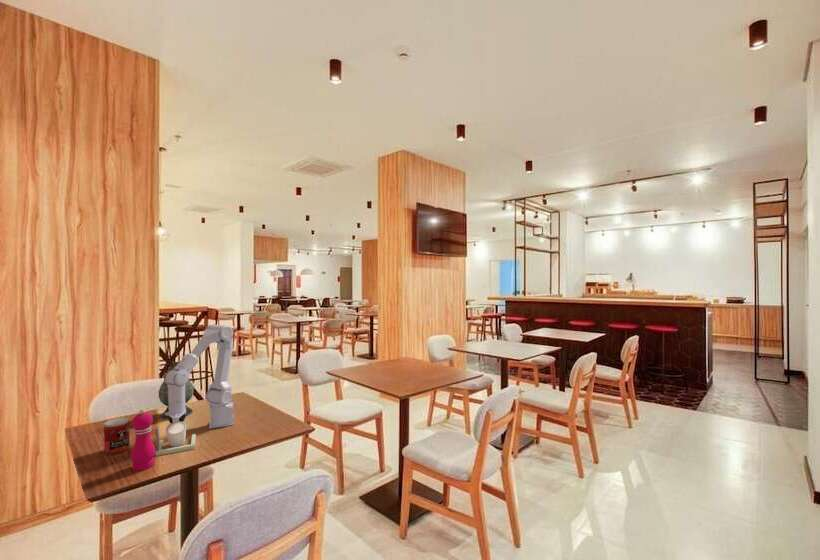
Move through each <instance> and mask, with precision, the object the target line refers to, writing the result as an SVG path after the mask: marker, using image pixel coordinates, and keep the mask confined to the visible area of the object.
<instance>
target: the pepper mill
mask: <svg viewBox="0 0 820 560" xmlns="http://www.w3.org/2000/svg"><path fill="white" fill-rule="evenodd" d="M131 421H132V422H131V425H132V427H133V428H134V429H133V434H134V435H135V441H134V444H133V447H132V449H131V451H130V452H131V453H130V457H129V459H130V460H131V461H132V465H131V466H132V469H131V470H132V471H135V472H137V471H138V472H139V471H145V470H147V469H150V468H152V467H153V466H154V465H155V459H154V457H155V456H156V450H157V449H156V447H155V444H154V442H153V441H152V439H151V435H150V431H151V429H152V424H153V422H154V418H153V415H152V414H151V413H150V412H149V413H148V412H146V409H144V408H141V409H140V410H139V413H137V414H136V415H135V416H134V417H133V418H132V420H131Z"/></svg>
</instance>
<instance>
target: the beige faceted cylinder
mask: <svg viewBox="0 0 820 560" xmlns="http://www.w3.org/2000/svg"><path fill="white" fill-rule="evenodd" d="M165 433H166V439H167V442H168V444H169V446H170V447H172V448H174V447H179V446H183V444H184V443H185V441H186V433H187V424H186V423H185V422H184V421H183V422H181V421H179V422H175V423H169V424H168V425H167V426H166V428H165Z"/></svg>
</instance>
